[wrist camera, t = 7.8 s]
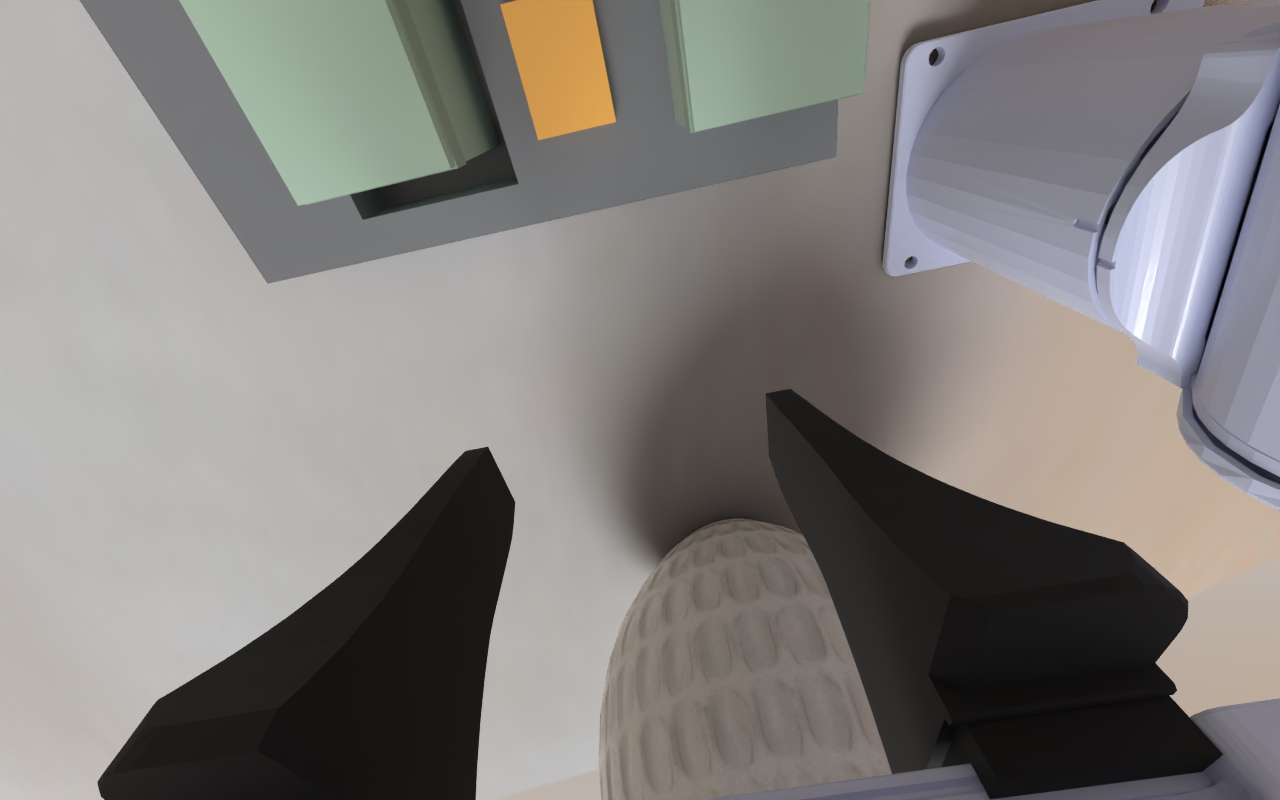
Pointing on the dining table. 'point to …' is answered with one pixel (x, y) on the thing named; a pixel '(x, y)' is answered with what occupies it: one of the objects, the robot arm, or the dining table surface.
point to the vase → (733, 675)
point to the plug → (350, 88)
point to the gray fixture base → (527, 117)
